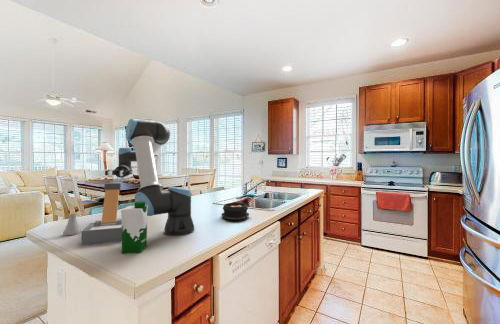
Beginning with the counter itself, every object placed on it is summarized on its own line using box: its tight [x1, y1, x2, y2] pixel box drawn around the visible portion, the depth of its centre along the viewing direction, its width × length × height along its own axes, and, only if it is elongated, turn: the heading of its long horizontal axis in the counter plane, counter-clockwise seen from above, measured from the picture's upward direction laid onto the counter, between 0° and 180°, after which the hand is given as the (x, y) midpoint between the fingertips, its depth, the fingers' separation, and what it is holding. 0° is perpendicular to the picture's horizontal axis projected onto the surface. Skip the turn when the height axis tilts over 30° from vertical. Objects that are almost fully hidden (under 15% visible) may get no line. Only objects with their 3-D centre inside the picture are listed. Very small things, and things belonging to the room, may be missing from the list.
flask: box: [62, 212, 82, 236], centre depth 115 cm, size 7×7×10 cm
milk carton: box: [120, 201, 148, 255], centre depth 94 cm, size 9×9×20 cm
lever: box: [101, 183, 122, 224], centre depth 114 cm, size 3×7×20 cm, turn 111°
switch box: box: [80, 218, 122, 246], centre depth 110 cm, size 14×18×8 cm
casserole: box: [220, 202, 250, 221], centre depth 150 cm, size 25×19×8 cm
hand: (114, 173), depth 122 cm, fingers open, 5 cm apart
